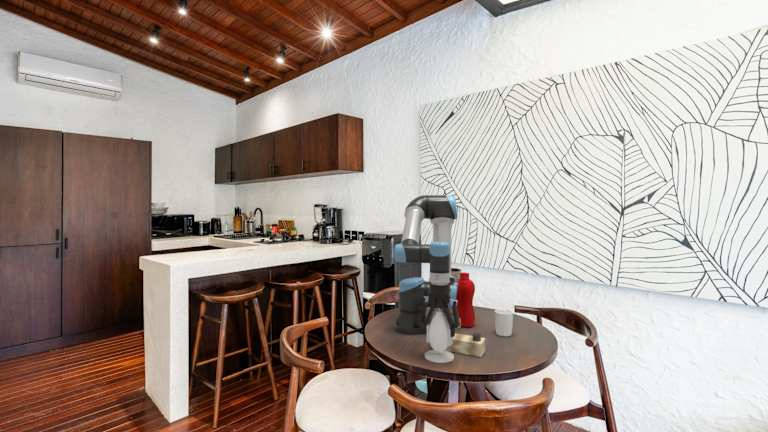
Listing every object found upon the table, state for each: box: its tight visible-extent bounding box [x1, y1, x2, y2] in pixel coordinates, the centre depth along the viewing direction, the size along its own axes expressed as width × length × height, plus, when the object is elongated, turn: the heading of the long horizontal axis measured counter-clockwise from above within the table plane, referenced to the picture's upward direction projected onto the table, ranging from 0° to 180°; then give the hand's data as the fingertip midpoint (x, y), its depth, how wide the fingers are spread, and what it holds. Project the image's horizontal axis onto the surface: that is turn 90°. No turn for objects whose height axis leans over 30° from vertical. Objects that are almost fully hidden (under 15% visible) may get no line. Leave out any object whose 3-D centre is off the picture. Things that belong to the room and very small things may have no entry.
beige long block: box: [430, 331, 486, 358], centre depth 147 cm, size 20×7×8 cm, turn 62°
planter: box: [441, 267, 462, 315], centre depth 198 cm, size 10×10×23 cm
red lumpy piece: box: [456, 271, 476, 328], centre depth 178 cm, size 9×11×25 cm
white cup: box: [494, 308, 514, 337], centre depth 165 cm, size 8×8×10 cm
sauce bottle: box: [429, 308, 449, 353], centre depth 140 cm, size 8×8×18 cm
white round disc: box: [424, 349, 455, 364], centre depth 140 cm, size 11×11×1 cm
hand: (439, 343), depth 140 cm, fingers closed on sauce bottle, 8 cm apart
